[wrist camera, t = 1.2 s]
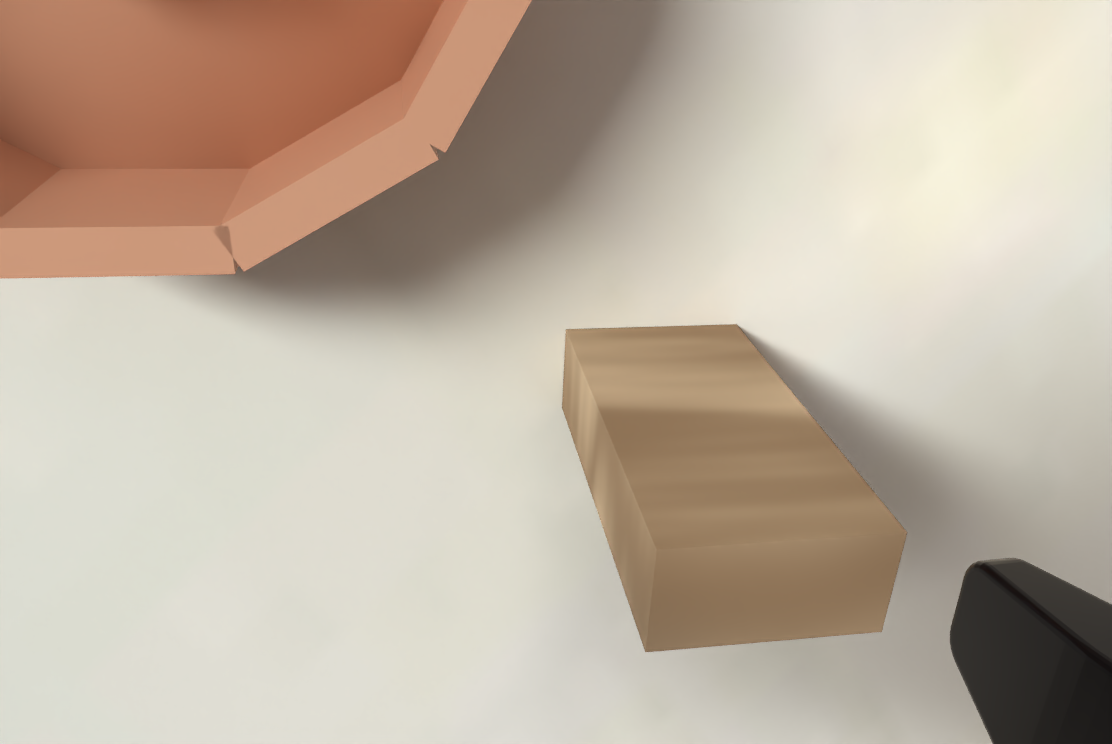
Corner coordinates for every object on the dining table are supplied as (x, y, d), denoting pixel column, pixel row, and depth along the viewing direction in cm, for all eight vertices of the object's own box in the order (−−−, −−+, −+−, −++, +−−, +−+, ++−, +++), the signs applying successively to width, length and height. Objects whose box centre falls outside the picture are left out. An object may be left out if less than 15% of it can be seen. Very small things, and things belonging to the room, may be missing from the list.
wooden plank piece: (726, 400, 22) (881, 631, 15) (561, 407, 22) (645, 651, 15) (736, 324, 21) (907, 532, 14) (565, 329, 21) (656, 549, 14)
